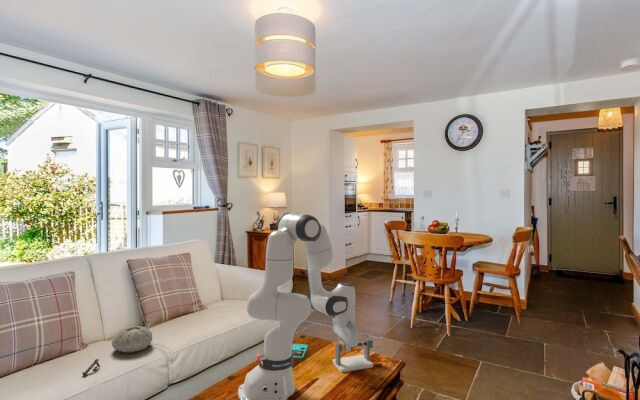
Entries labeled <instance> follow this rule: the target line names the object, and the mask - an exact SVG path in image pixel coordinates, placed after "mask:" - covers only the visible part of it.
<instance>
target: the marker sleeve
mask: <svg viewBox="0 0 640 400" xmlns="http://www.w3.org/2000/svg"><path fill="white" fill-rule="evenodd" d="M338 342H339V343H340V344H341V345H342V349H341V354H347V353H352V347H350V351H349V352H346V351H345V347H346V342H345V341H340V340H339V341H338Z"/></svg>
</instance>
